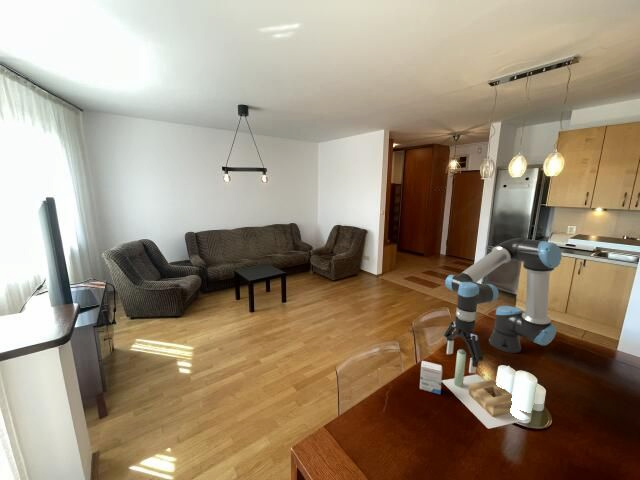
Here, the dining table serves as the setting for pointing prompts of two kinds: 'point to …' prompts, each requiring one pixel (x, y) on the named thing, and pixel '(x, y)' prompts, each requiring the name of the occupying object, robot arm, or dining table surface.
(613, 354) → the dining table surface
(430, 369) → the ink box
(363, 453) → the dining table surface
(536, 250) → the robot arm
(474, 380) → the grey mat
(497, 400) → the wooden square holder
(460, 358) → the pale green cylinder
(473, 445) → the dining table surface
